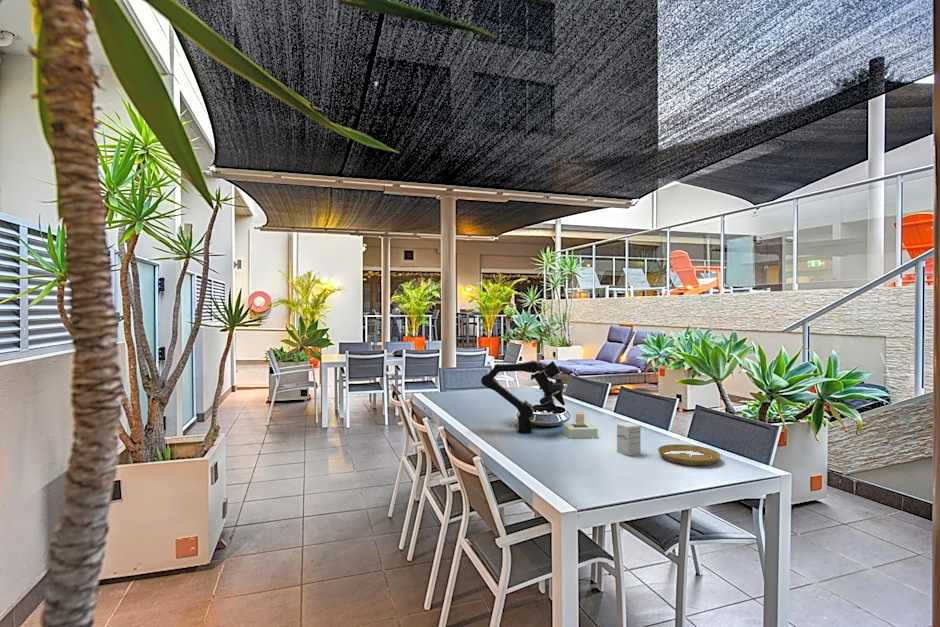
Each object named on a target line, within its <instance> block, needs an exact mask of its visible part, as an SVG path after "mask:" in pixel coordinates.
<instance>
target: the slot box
mask: <svg viewBox="0 0 940 627" xmlns="http://www.w3.org/2000/svg"><path fill="white" fill-rule="evenodd" d="M562 432H563V434H565V435H566V437H569V438H573V439H593V438H592V437H598V436H599V432H598V427H596V426H595V425H593V423H591V422H589V421H584V427H577V428H576V421H575V422H562ZM569 438H568V439H569ZM598 438H599V437H598Z"/></svg>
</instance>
